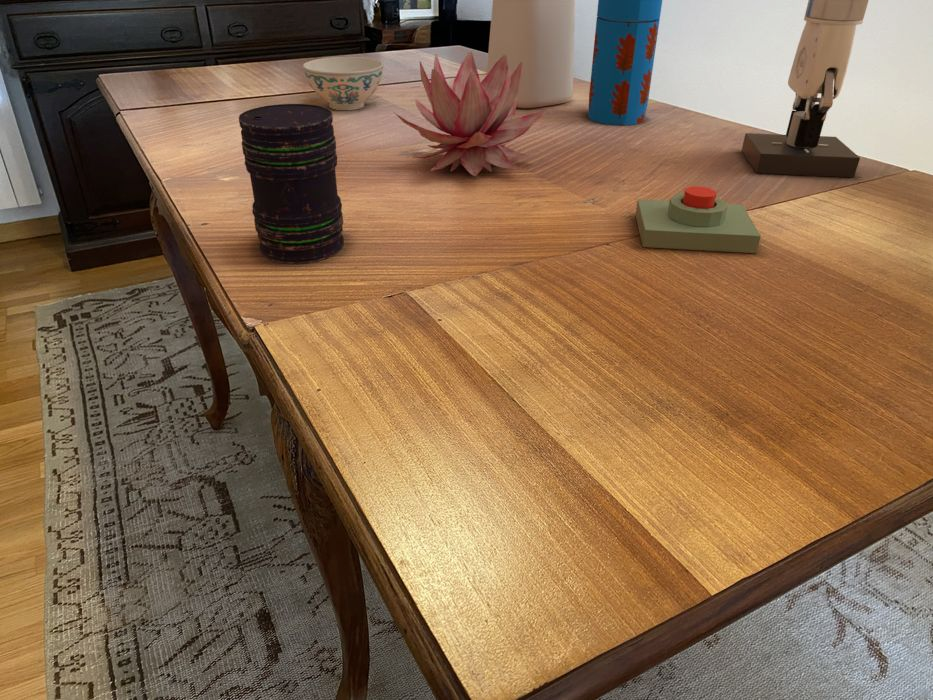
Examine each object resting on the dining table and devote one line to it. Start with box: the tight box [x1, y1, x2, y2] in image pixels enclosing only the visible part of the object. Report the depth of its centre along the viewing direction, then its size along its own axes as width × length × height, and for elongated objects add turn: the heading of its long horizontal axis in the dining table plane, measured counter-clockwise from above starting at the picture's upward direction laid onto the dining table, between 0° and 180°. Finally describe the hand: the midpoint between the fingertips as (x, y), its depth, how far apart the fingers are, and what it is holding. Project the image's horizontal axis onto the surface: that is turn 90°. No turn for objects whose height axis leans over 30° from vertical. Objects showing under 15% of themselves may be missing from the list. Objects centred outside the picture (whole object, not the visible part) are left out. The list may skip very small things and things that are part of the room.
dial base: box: [741, 132, 861, 178], centre depth 109 cm, size 14×11×3 cm
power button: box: [683, 185, 717, 209], centre depth 84 cm, size 4×4×2 cm
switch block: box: [635, 192, 762, 254], centre depth 85 cm, size 13×10×4 cm
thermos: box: [587, 0, 663, 126], centre depth 125 cm, size 11×11×25 cm
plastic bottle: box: [485, 0, 576, 109], centre depth 136 cm, size 15×15×28 cm
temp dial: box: [786, 111, 809, 148], centre depth 107 cm, size 4×4×5 cm
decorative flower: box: [394, 51, 547, 177], centre depth 103 cm, size 21×21×15 cm
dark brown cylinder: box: [238, 103, 345, 265], centre depth 78 cm, size 10×10×15 cm
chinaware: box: [302, 56, 384, 111], centre depth 136 cm, size 15×15×8 cm
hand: (801, 140), depth 108 cm, fingers closed on temp dial, 4 cm apart
